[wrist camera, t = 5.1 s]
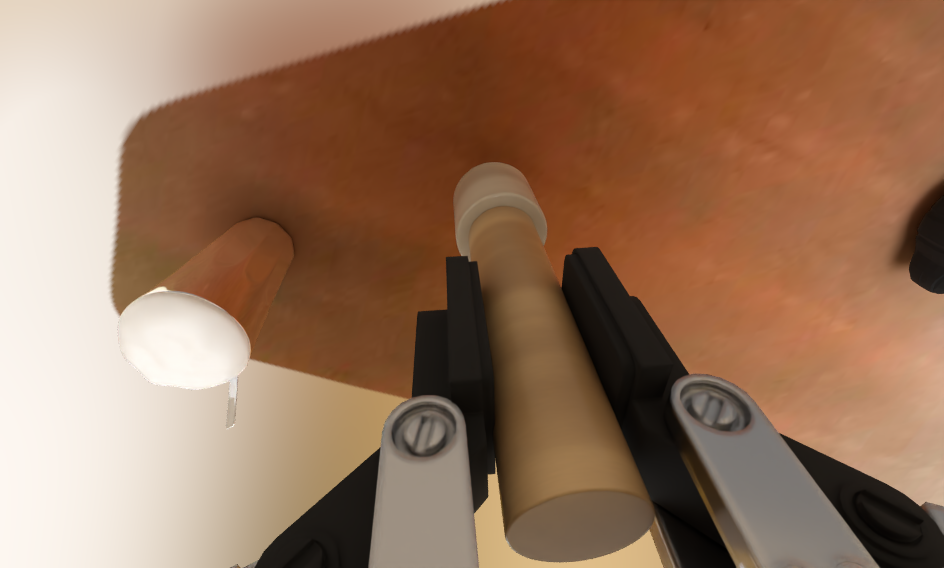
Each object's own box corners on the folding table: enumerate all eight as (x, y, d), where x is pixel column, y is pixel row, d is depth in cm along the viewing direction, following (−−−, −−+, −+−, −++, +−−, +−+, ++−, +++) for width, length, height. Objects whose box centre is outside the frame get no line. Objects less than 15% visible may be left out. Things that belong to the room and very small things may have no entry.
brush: (436, 198, 16) (433, 537, 6) (496, 143, 15) (616, 442, 5) (488, 248, 17) (556, 589, 7) (546, 201, 16) (719, 523, 6)
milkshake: (278, 300, 25) (191, 449, 16) (200, 234, 22) (49, 371, 14) (335, 263, 23) (272, 404, 15) (260, 188, 21) (133, 308, 12)
